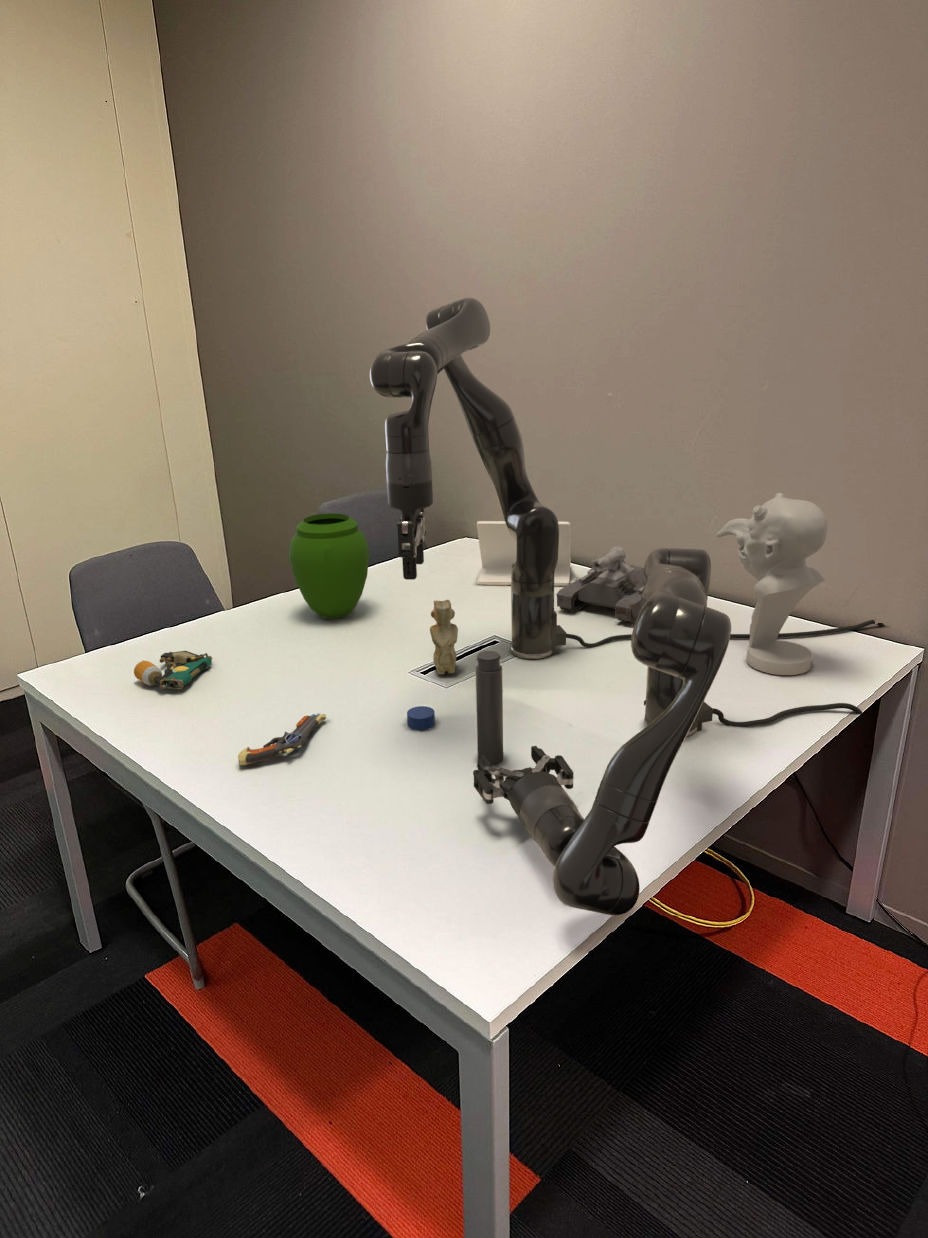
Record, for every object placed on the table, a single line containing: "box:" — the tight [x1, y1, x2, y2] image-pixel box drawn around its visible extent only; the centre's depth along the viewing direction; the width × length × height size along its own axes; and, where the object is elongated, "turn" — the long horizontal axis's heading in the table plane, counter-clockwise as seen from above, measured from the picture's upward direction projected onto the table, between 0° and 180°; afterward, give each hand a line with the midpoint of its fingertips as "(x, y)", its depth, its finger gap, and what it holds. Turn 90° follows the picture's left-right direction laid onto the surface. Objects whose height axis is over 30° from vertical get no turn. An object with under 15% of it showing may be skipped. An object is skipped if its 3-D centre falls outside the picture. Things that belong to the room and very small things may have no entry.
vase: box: [288, 512, 370, 620], centre depth 209 cm, size 20×20×24 cm
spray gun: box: [133, 650, 213, 690], centre depth 180 cm, size 4×17×15 cm
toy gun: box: [237, 713, 327, 766], centre depth 151 cm, size 3×19×10 cm
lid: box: [406, 705, 436, 732], centre depth 157 cm, size 5×5×2 cm
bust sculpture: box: [716, 492, 828, 676], centre depth 176 cm, size 16×24×35 cm
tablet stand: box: [476, 520, 572, 587], centre depth 236 cm, size 18×25×17 cm
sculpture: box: [429, 599, 459, 675], centre depth 177 cm, size 6×7×15 cm
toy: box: [556, 546, 644, 624], centre depth 212 cm, size 25×20×15 cm
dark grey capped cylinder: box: [475, 650, 504, 767], centre depth 141 cm, size 4×4×19 cm
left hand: (414, 571), depth 147 cm, fingers open, 8 cm apart
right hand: (507, 755), depth 133 cm, fingers open, 8 cm apart
